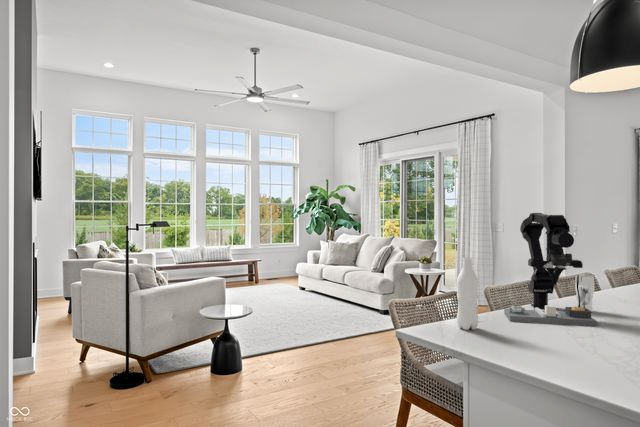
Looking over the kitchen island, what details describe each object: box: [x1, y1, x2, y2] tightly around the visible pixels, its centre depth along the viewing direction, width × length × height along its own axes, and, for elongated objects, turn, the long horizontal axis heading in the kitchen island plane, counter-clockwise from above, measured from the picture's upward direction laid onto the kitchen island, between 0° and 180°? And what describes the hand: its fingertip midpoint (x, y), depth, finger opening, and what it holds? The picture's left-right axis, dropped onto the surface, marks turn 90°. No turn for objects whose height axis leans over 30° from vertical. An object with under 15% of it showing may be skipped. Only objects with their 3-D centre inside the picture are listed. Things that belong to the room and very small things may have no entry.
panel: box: [503, 306, 597, 327], centre depth 167 cm, size 13×29×4 cm, turn 76°
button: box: [570, 306, 585, 311], centre depth 164 cm, size 4×4×2 cm
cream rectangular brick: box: [544, 304, 557, 317], centre depth 163 cm, size 2×3×4 cm
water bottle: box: [456, 256, 479, 331], centre depth 154 cm, size 7×7×25 cm
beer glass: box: [574, 273, 596, 313], centre depth 182 cm, size 7×7×15 cm
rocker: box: [510, 305, 523, 309], centre depth 170 cm, size 5×3×1 cm, turn 166°
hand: (554, 284), depth 175 cm, fingers closed
